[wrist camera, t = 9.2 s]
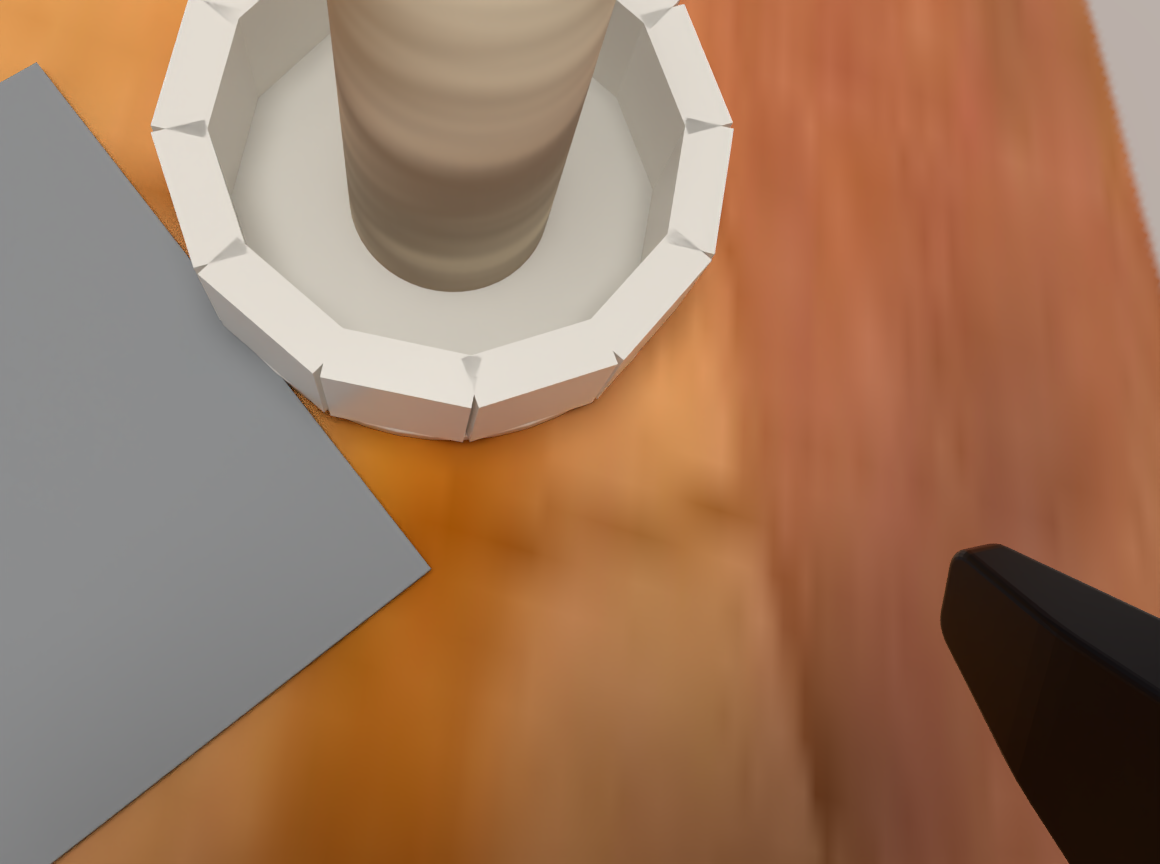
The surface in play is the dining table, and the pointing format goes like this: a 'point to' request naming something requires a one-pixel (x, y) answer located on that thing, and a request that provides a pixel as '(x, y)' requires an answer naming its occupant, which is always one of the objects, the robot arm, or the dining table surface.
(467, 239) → the pepper mill
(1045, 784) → the robot arm
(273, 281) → the bowl
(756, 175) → the dining table surface
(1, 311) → the felt mat
